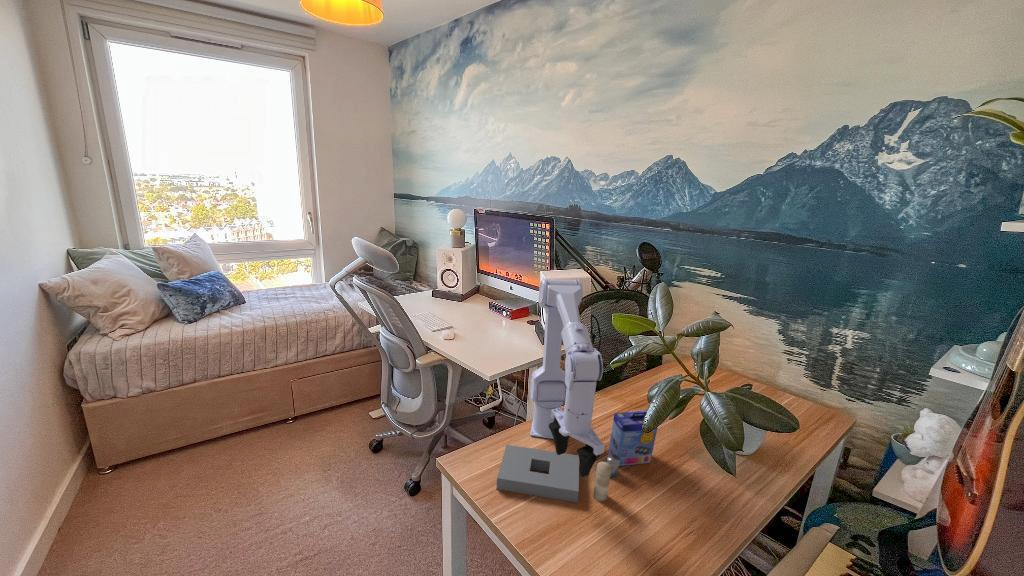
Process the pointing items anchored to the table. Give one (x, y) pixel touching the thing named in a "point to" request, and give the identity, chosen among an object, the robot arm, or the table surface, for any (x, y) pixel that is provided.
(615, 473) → the short steel pin
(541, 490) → the hole plate
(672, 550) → the table surface
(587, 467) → the robot arm
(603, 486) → the birch pin
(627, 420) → the ink cartridge box
